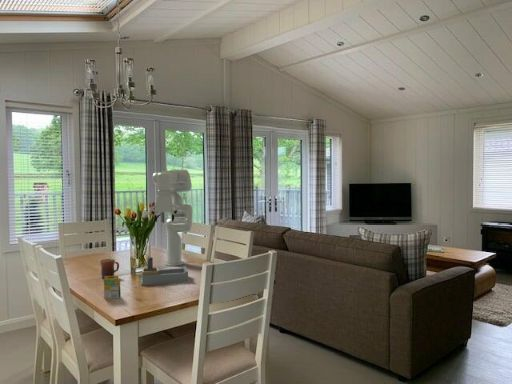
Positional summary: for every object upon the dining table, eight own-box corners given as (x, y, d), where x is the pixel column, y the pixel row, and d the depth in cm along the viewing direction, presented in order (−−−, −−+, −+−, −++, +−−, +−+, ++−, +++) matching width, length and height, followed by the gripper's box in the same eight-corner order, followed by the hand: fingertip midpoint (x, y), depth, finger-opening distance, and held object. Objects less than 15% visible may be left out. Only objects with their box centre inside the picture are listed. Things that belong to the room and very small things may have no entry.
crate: (142, 277, 232) (141, 256, 232) (158, 276, 235) (157, 255, 234) (142, 281, 224) (141, 259, 223) (158, 280, 226) (158, 258, 226)
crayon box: (120, 296, 202) (120, 274, 201) (118, 298, 199) (118, 275, 198) (106, 297, 202) (105, 274, 201) (104, 298, 199) (103, 276, 198)
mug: (97, 278, 237) (96, 261, 236) (106, 274, 245) (105, 258, 245) (114, 279, 234) (114, 262, 233) (123, 276, 242) (122, 259, 241)
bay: (141, 279, 234) (141, 269, 234) (185, 276, 242) (185, 266, 241) (141, 285, 222) (141, 274, 222) (188, 281, 229) (188, 271, 229)
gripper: (178, 192, 246) (178, 220, 247) (149, 193, 241) (149, 221, 242) (179, 193, 239) (179, 221, 240) (149, 194, 234) (149, 222, 235)
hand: (164, 221), depth 241 cm, fingers open, 9 cm apart
